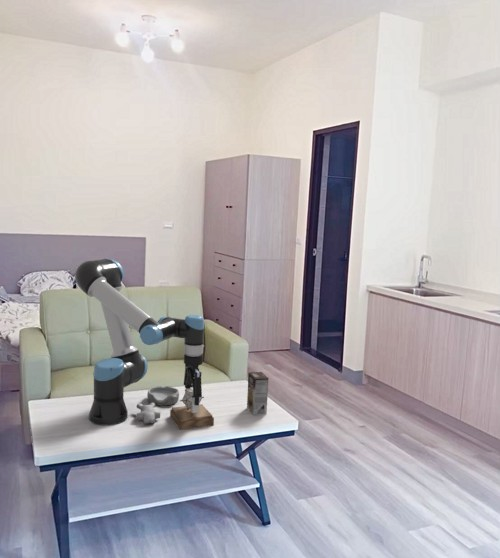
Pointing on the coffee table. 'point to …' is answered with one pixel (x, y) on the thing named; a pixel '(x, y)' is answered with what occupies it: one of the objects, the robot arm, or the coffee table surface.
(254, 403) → the coffee box
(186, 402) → the game die
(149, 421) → the grey teddy bear
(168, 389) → the dish
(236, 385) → the coffee table surface
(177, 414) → the plinth
